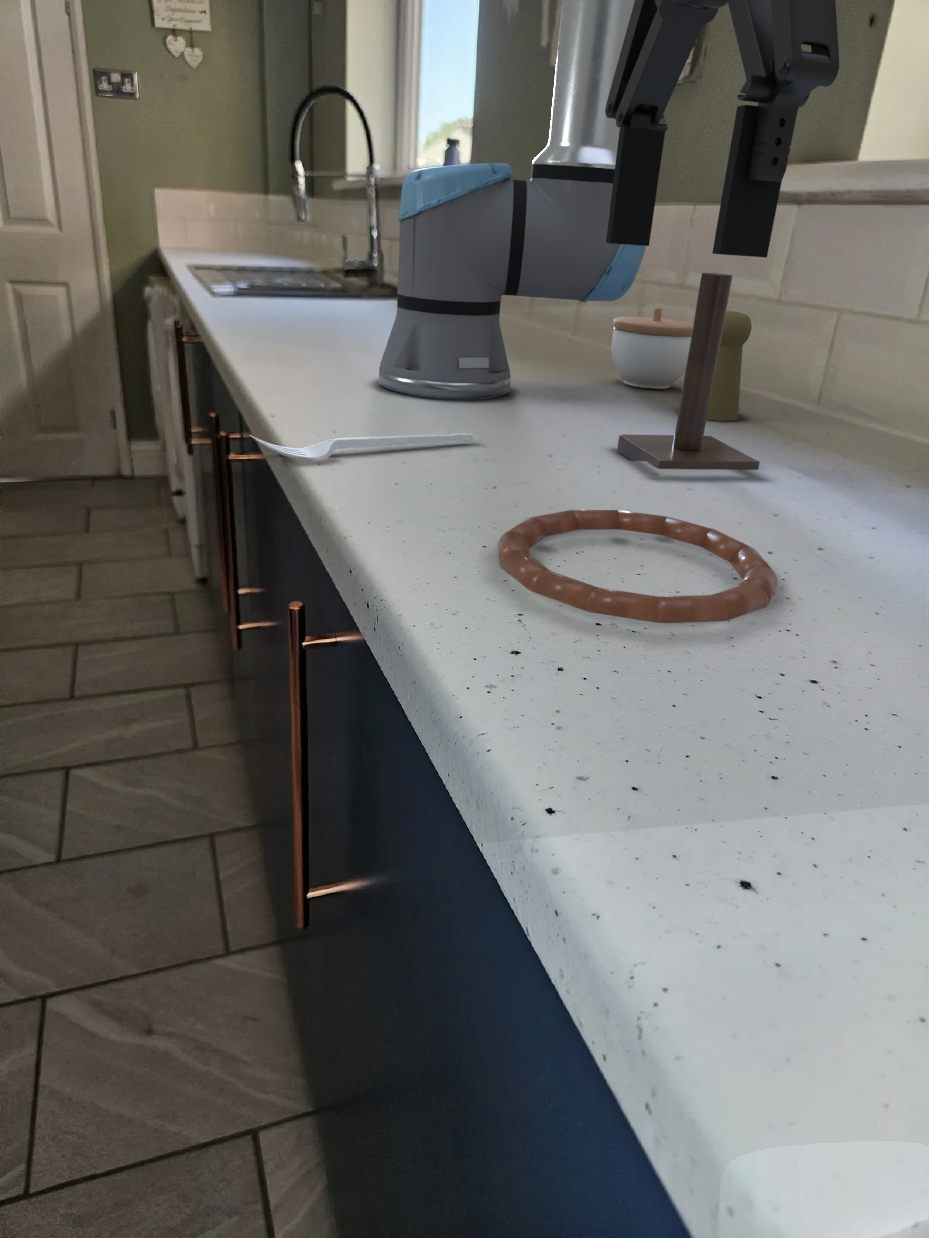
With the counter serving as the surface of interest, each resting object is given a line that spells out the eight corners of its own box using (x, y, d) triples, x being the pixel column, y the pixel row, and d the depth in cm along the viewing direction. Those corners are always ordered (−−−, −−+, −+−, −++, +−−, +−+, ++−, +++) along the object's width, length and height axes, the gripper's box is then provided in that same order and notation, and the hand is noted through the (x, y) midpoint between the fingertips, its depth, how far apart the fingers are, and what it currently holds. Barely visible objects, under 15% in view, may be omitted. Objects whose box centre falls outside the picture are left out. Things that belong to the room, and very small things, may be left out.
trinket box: (596, 375, 117) (605, 301, 113) (673, 379, 118) (684, 306, 115) (617, 390, 107) (628, 310, 104) (701, 394, 109) (714, 315, 105)
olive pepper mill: (740, 423, 94) (761, 316, 89) (683, 417, 95) (701, 311, 90) (735, 412, 99) (755, 311, 95) (682, 407, 100) (699, 306, 96)
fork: (481, 447, 76) (482, 426, 76) (262, 467, 66) (261, 442, 66) (461, 439, 79) (463, 418, 78) (247, 456, 69) (246, 433, 68)
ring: (469, 533, 56) (471, 506, 55) (697, 531, 59) (702, 506, 58) (537, 642, 42) (541, 608, 41) (830, 631, 45) (838, 600, 45)
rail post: (616, 450, 79) (642, 267, 72) (707, 451, 81) (740, 273, 74) (656, 478, 71) (690, 275, 64) (756, 479, 73) (798, 281, 66)
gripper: (580, -155, 51) (543, 237, 60) (854, -418, 29) (732, 257, 38) (694, -132, 53) (642, 244, 62) (1030, -364, 31) (876, 267, 40)
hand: (676, 250), depth 50 cm, fingers open, 13 cm apart
